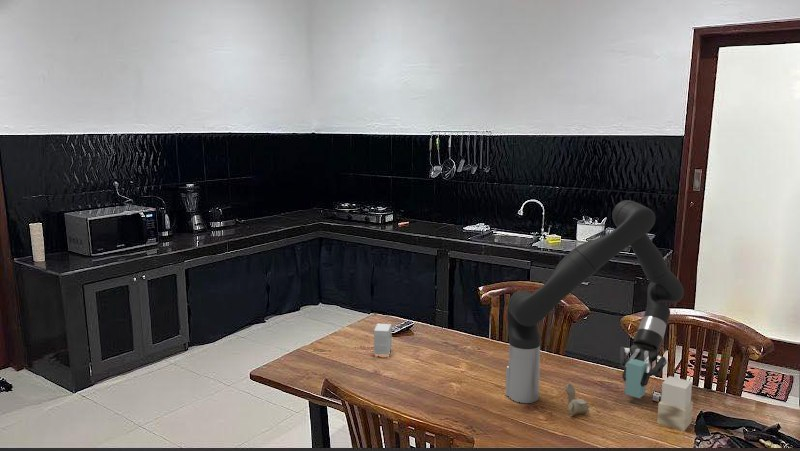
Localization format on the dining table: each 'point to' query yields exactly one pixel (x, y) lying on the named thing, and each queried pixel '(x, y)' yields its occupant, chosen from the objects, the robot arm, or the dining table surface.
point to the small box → (382, 338)
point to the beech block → (674, 416)
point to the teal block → (635, 378)
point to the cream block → (676, 392)
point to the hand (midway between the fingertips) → (633, 382)
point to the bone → (575, 402)
